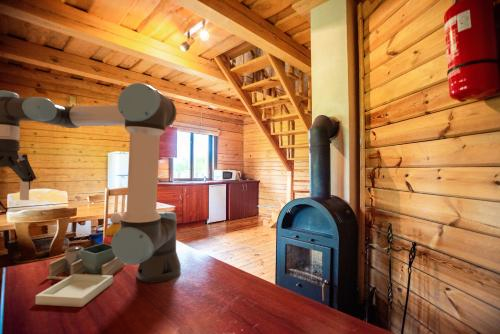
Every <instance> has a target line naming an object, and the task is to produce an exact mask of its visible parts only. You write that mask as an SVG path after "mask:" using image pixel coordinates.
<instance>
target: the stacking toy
mask: <svg viewBox="0 0 500 334" xmlns="http://www.w3.org/2000/svg"><path fill="white" fill-rule="evenodd" d="M122 216H123V214H122V213H121V212H118V211H114V212H112V214H111V215H110V218H109V219H110V220H109V221H110V223H112V224H110V225H109V226H108V227H107V228H106V231H105V236H104V237H103V242H102V244H103V243H104V244H108V245H111V242H112V238H113V236H114V235H115V234H116V232H117V231H118V230H119V229H120V221H121V217H122Z"/></svg>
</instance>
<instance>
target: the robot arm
mask: <svg viewBox="0 0 500 334" xmlns="http://www.w3.org/2000/svg"><path fill="white" fill-rule="evenodd" d="M176 117H177V108H176V105H175V102H173V100H172V99H171V98H169V97H168V96H167V95H164V94H163V93H161V92H160V91H159V90H157V89H156V88H155V87H154V86H151V85H148V84H147V83H144V82H135V83H132V84H131V83H130V84H129V85H127V86H126V87H125V88H124V89H123V90H122V91H121V92H120V94H119V95H118V98H117V104H108V105H107V104H103V105H102V104H101V105H73V106H67V105H66V106H65V105H62V104H61V105H60V104H57V103H54V102H53V101H52V100H50V99H49V98H46V97H39V96H30V97H29V96H28V97H26V96H25V97H20V95H19V94H18V93H16V92H14V91H9V90H3V89H2V90H1V89H0V168H9V169H11V170H12V171H13V172H14V173H15V174H16V175H17V177H18V179H19V178H20V180H21V181H19V200H20V201H29V200H30V191H31V183H32V182H34V180H36V179H37V176H36V174H35V172H34V170H33V168H32V166H31V164H30V162H29V157H28V154H26V153H23V154H21V153H18V152H19V151H20V150H21V148H20V140H19V139H20V138H21V137H20V134H21V133H20V122H36V123H41V124H48V125H53V126H59V127H64V128H67V129H78V128H80V127H107V126H109V127H112V126H113V127H114V126H119V127H121V126H122V127H123V126H124V129H125V130H126V132H127V133H128V134H129V144H128V145H129V146H128V147H129V149H128V151H129V152H128V172H127V194H126V210H125V211H126V212H125V213H124V214H122V217H121V221H120V229H119V230H118V231H117V232H116V234H115V235H114V236H113V238H112V242H111V246H112V251H113V253H114V255H115V256H116V257H118V259H119V260H120V261H121V262H123V263H125V264H126V265H129V266H130V265H131V266H135V265H138V267H137V271H136V278H137V280H138V281H141V282H143V283H150V284H151V283H152V284H155V283H156V284H157V283H162V282H167V281H171V280H172V279H174V278H176V277H178V276H179V275H180V274H181V271H182V270H181V267H182V265H181V262H180V258H179V256H178V253H177V222H178V219H177V214H176V213H175V212H174V211H169V210H168V211H165V210H161V211H160V210H159V211H158V210H157V201H158V181H159V160H160V140H161V139H160V138H161V136H162V135H164V134H165V133H166V128H168V127H170V126H172V124H173V123H174V122H175V120H176Z"/></svg>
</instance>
